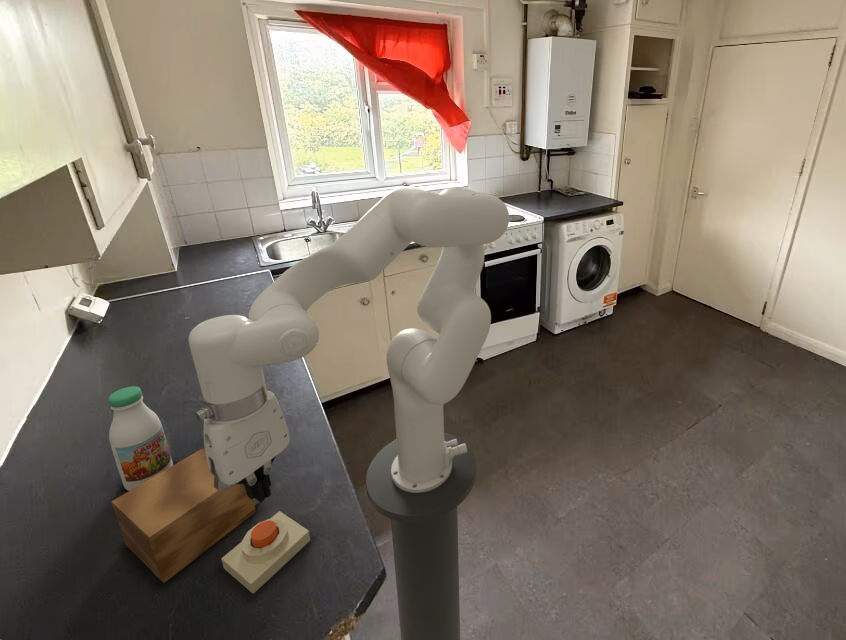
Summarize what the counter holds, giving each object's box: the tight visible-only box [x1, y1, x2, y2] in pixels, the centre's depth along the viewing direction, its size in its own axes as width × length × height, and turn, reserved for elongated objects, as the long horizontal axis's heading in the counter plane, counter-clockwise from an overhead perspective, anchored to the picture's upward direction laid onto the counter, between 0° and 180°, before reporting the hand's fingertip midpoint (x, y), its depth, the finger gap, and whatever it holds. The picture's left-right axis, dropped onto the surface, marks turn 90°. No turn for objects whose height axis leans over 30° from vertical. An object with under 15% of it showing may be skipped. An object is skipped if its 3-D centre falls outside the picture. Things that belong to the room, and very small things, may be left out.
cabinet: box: [111, 446, 257, 584], centre depth 73 cm, size 15×13×10 cm
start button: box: [251, 519, 278, 548], centre depth 69 cm, size 4×4×2 cm
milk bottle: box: [107, 385, 174, 492], centre depth 82 cm, size 8×8×20 cm
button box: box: [221, 510, 311, 595], centre depth 70 cm, size 10×8×4 cm
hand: (260, 495), depth 67 cm, fingers closed
